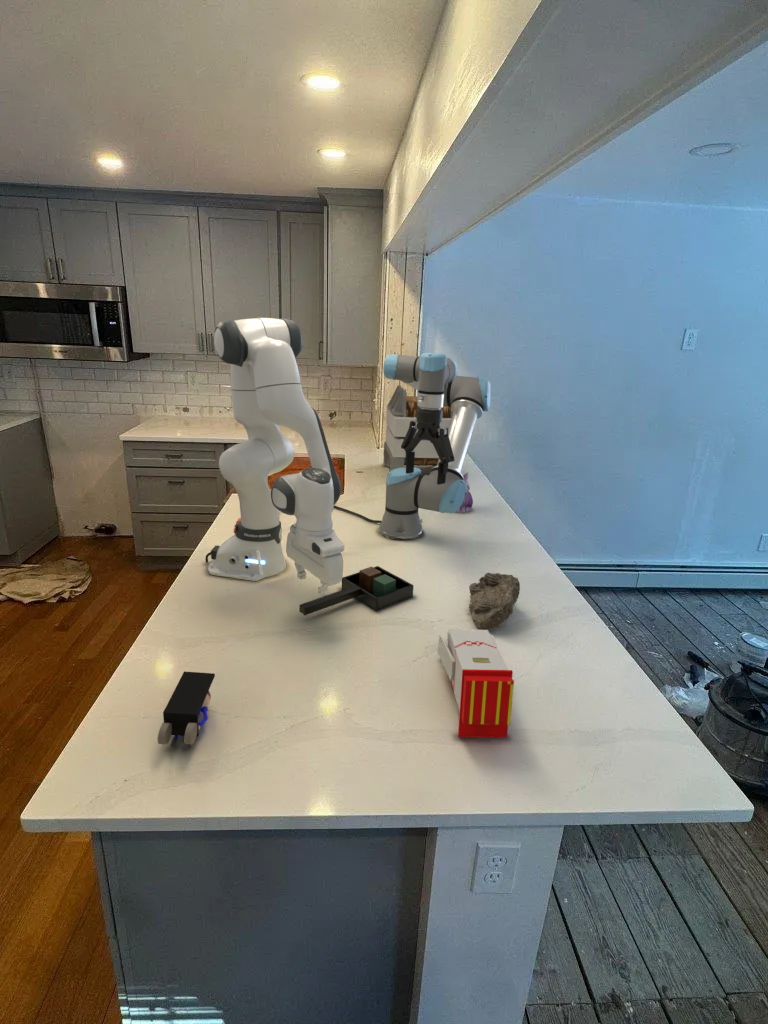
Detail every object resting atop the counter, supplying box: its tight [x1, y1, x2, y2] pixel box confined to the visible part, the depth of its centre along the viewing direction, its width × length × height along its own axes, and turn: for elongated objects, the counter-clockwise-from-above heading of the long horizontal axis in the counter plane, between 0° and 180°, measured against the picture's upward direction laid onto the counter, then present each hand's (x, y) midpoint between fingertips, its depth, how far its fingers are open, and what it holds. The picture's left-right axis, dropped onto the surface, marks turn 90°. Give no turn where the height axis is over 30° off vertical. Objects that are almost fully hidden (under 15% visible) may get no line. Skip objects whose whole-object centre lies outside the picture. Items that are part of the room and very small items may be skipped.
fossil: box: [468, 572, 521, 630], centre depth 149 cm, size 22×10×15 cm
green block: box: [373, 574, 396, 597], centre depth 155 cm, size 4×4×5 cm
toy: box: [437, 628, 515, 738], centre depth 117 cm, size 12×13×30 cm
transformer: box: [383, 384, 453, 472], centre depth 268 cm, size 34×33×41 cm
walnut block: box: [359, 566, 382, 592], centre depth 159 cm, size 4×4×5 cm
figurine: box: [455, 472, 474, 514], centre depth 225 cm, size 9×10×15 cm
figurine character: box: [157, 670, 216, 749], centre depth 104 cm, size 7×8×15 cm
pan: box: [298, 565, 414, 616], centre depth 152 cm, size 15×31×4 cm, turn 131°
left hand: (311, 585), depth 143 cm, fingers open, 8 cm apart
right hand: (424, 478), depth 172 cm, fingers open, 13 cm apart
